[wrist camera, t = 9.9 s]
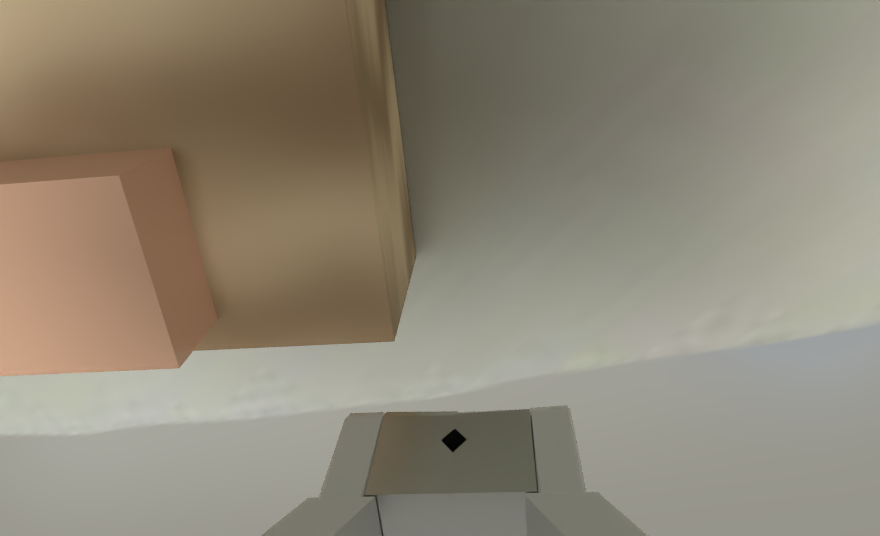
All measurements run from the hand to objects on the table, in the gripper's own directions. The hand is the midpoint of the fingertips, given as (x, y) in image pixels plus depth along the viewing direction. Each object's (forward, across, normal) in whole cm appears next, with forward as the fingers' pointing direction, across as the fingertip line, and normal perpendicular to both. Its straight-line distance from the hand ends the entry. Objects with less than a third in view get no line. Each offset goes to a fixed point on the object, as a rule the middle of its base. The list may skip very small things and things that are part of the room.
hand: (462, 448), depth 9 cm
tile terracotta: (+8, +10, 0) cm, 13 cm away
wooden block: (+14, +8, -4) cm, 17 cm away
